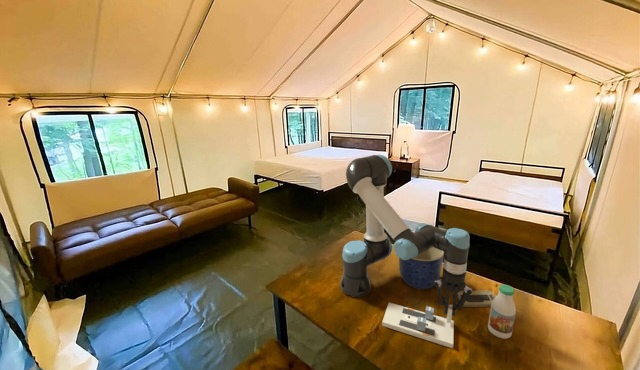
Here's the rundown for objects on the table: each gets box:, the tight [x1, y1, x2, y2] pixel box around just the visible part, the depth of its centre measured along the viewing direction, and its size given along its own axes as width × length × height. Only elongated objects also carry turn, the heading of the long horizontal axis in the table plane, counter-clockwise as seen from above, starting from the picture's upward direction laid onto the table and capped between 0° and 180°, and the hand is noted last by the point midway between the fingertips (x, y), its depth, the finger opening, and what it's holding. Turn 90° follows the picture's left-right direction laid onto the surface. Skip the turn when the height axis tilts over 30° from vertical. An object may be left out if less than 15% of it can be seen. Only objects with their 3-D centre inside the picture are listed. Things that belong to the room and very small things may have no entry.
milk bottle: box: [487, 284, 517, 340], centre depth 99 cm, size 8×8×20 cm
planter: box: [398, 247, 444, 290], centre depth 129 cm, size 21×21×19 cm
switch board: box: [381, 302, 455, 349], centre depth 106 cm, size 26×12×2 cm, turn 63°
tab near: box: [417, 316, 426, 332], centre depth 101 cm, size 3×2×4 cm
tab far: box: [425, 305, 435, 320], centre depth 106 cm, size 3×2×4 cm
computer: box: [457, 290, 497, 308], centre depth 117 cm, size 16×8×3 cm, turn 87°
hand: (448, 320), depth 103 cm, fingers closed
